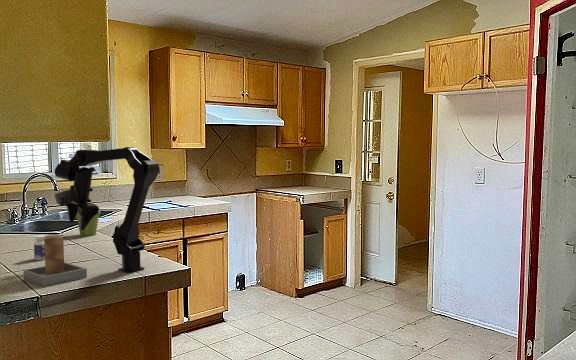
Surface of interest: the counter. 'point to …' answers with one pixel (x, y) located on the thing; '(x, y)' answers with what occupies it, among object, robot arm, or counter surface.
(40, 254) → the pill bottle
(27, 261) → the counter surface
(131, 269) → the robot arm
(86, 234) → the plant pot
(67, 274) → the box
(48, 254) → the walnut block
